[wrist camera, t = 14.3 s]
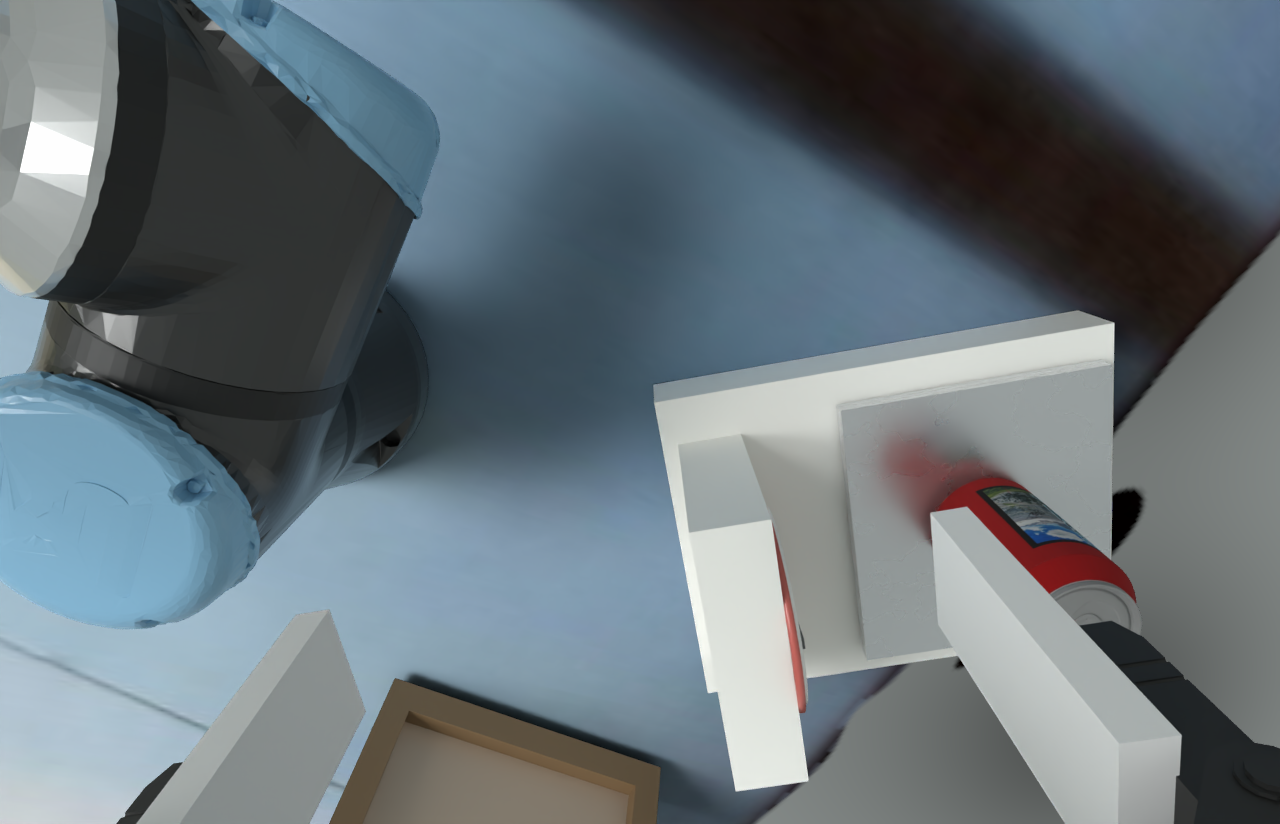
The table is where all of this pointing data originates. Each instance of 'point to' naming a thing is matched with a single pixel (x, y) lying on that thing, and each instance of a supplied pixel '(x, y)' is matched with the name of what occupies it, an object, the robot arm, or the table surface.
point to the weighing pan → (964, 479)
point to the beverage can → (1052, 552)
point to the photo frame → (487, 770)
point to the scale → (804, 513)
